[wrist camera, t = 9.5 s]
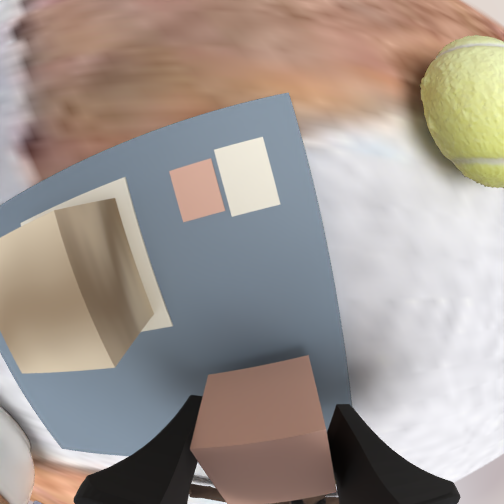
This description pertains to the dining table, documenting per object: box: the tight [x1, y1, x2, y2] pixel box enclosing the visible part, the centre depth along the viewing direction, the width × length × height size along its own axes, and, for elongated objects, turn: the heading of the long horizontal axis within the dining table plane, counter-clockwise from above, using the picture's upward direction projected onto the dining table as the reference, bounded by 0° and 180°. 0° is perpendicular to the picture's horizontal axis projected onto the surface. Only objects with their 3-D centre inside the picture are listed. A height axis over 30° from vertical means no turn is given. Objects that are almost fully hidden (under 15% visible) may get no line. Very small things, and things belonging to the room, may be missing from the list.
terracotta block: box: [190, 355, 337, 504], centre depth 11 cm, size 4×4×4 cm
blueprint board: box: [0, 93, 352, 456], centre depth 14 cm, size 18×22×1 cm
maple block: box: [0, 198, 154, 373], centre depth 11 cm, size 6×6×4 cm
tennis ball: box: [420, 35, 504, 188], centre depth 9 cm, size 6×7×7 cm
